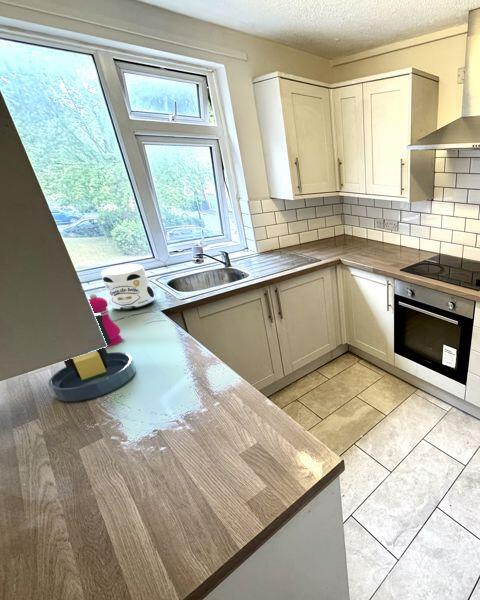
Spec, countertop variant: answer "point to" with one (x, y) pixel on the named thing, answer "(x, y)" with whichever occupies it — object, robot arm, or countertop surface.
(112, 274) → the milk container
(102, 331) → the robot arm
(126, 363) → the bowl
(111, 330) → the pepper mill
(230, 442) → the countertop surface
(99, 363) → the sponge
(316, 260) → the countertop surface
